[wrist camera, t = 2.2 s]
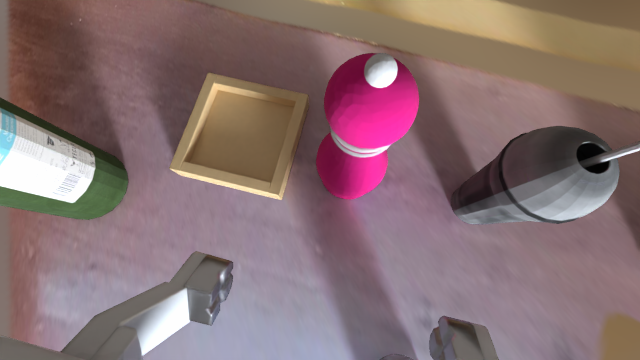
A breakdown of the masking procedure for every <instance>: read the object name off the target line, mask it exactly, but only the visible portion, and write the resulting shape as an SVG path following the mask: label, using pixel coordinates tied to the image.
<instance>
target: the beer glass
mask: <svg viewBox="0 0 640 360" xmlns="http://www.w3.org/2000/svg"><path fill="white" fill-rule="evenodd" d="M379 360H413V359H412V358H410V357H407V356H405V355H401V354H390V355H387V356H384V357H382V358H381V359H379Z"/></svg>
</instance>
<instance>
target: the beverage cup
mask: <svg viewBox="0 0 640 360" xmlns="http://www.w3.org/2000/svg"><path fill="white" fill-rule="evenodd" d="M639 150H640V141H638V142H635V143H632V144H629V145H626V146H623V147H620V148H617V149H615V150H612V149H611V148H610V147H609V145H608V144H607V143H606V142H605V141H603V140H602V139H601V138H599V137H598V136H596V135H595V134H593V133H590V132H588V131H585V130H582V129H579V128H574V127H565V126H553V127H547V128H541V129H537V130H533V131H531V132H529V133H524V134H521V135H519V136H517V137H516V138H514V139H512V140H510V142H509V143H508V144H507V145H506V146H505V148H504V149H503V150H502V151H501V152H500V154H499V155H498V156H497V157H496V158H495V159H494V160H493V161H491V162H490V163H489V164H488V165H486V166H485V167H484V168H482V169H481V170H480V171H479V172H477V173H476V174H475V175H473V176H472V177H471V178H470V179H468V180H467V181H466V182H464V183H463V184H462V185H461V186H460V187H459V188H458V189H457V190H456V191H455V192H454V193H453V196H452V199H451V205H452V208H453V211H454V213H455V214H456V216H457V217H458V218H459V219H461V220H462V221H464V222H466V223H469V224H493V223H507V222H520V221H536V222H548V223H556V224H559V223H564V222H570V221H573V220H575V219H577V218H579V217H582V216H584V215H586V214H589V213H590V212H592V211H593V210H595V209H597V208H598V207H600V206H601V205H603V204H604V203H605V202H606V201H607V200H608V198H609V197H610V196H611V194H612V193H613V191H614V190H615V188H616V186H617V183H618V178H619V173H620V172H619V165H618V160H617V157H620V156H624V155H627V154H630V153H633V152H636V151H639Z"/></svg>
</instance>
